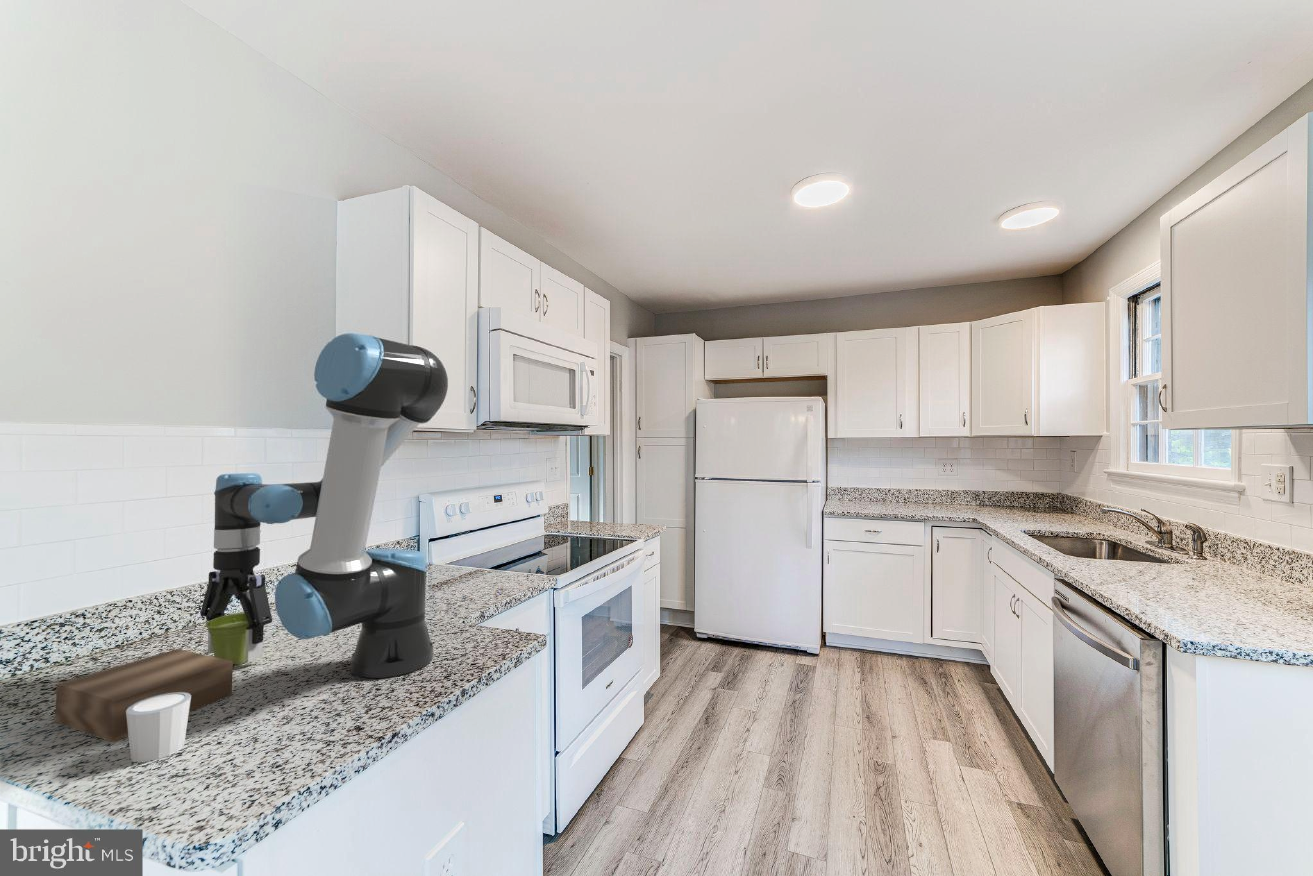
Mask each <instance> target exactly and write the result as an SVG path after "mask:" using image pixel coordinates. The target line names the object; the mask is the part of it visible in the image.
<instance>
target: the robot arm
mask: <svg viewBox="0 0 1313 876" xmlns="http://www.w3.org/2000/svg"><path fill="white" fill-rule="evenodd" d="M313 374H314V375H313V376H314V381H315V382H316V384H315V387H316V390H317V392H318V393H319V394H320V396H321V397H323V398H325V399H326V402H325V407H324V408H325V409H326V410H327V411H328V412H329V414H330V415H331V416H332V418H333V422H332V426H331V432H330V437H329V442H328V448H327V454H326V459H325V466H324V471H323V474H322V475H323V477H322V479H321V480H320V481H314V482H313V481H311V482H296V483H295V482H293V483H277V484H275V483H274V484H268V483H267V484H265V483H263V481H262V476H261V475H260V474H259V473H254V472H253V473H252V472H250V473H249V472H247V473H224V474H220V475H218V476H217V478H216V481H215V489H214V491H213V492H214V493H213V496H214V528H213V549H215V551H214V552H213V562H212V563H213V564H212V565H213V570H214V571H210V572H208V583H207V587H206V591H205V593H204V594H205V595H204V598H203V601H202V607H201V609H200V616H201V617H205V620H206V621H207V622H208V621H210V620H213V619H215V618H219V617H222V616H226V615H227V614H226V613H225V611H226V609H227V608H228V605H229V603H230V601H231V599H232V597H233V595H234V597H235V599H236V600H238V601H239V603H240V606H241V609H242V611H243V613H245V616H246V618H247V621H248V624H249V626H248V627H247V628H246V662H245V663H249V662H252V661H255V660H257V659H261V658H263V642H264V627H265V626H266V625H268V624H271V623H273V616H272V611H271V607H270V603H269V599H268V592H267V588H266V575H265V574H259V575H255V572H254V568H255V567H257V566H258V565H260V564H261V563H260V562H261V560H260V559H261V558H260V557H261V548H260V547H259V545H260V544H261V533H262V532H261V525H262V524H261V523H263V524H267V525H274V524H285V523H289V522H291V521H292V520H303V519H309V518H314V519H315V520H314V526H313V530H312V531H313V532H312V534H311V535H312V536H311V542H310V546H309V548H308V549H306V550H305V551H304V552H302V553H301V554H299V556H298V557H297V560H296V561H297V562H296V567H295V572H293V573H288V574H286V575H284V576H283V577H282V578H281V579H280V580H278V582H277V584H276V585H275V591H274V603H275V609H276V613H277V615H278V618H279V620H280V623H281V624H282V626H283V627H284V628H285V630H286V631H287V632H288V633H289V634H290V635H291V636H293V637H295V638H297V639H300V640H309V639H310V640H311V639H314V638H317V637H321V636H322V637H325V636H328V635H330V634H332V633H335V632H338V631H340V630H344V629H347V628H351V627H353V626H356V625H361V629H360V633H359V635H358V640H357V643H356V644H355V645H356V646H355V650H354V651H353V653H352V656H350V657H351V658H350V672H351V674H352V675H354V676H357V677H360V678H366V679H381V678H382V679H383V678H390V677H396V676H401V675H405V674H408V673H409V674H410V673H412V672H414V671H418V670H420V669H422V668H424V667H426V666H427V665H429V664H430V663H431V662H432V661H433V659H434V644H433V642H432V641H431V637H430V634H429V630H428V627H427V624H426V617H425V615H426V587H427V586H426V585H427V584H426V581H427V577H426V576H427V569H426V557H425V554H424V553H423V552H421V551H420V550H419V551H418V550H415V549H404V548H403V549H401V548H374V549H372V548H371V549H366V546H367V543H368V542H367V541H368V535H369V530H370V526H371V519H372V515H373V509H374V503H375V499H376V495H377V488H378V483H379V478H380V473H381V468H382V467H383V466H384V465H385V464H386V462H387V461H388V460H389V459H390V458H391V457H392V456H393V454H394V453H396V451H397V450H398V449H399V448H400V446H401V445H403V444H404V442H405V440H407V439H408V437H410V436H411V434H412V433H413V432H414V431H415V430H416V428H417V427H418V426H419V425H423V424H427V423H428V422H429V421H431V419H432V418H433V417H434V416H435V415H436V414H437V412H439V410H440V408H441V407H442V405H443V404H444V402H445V399H446V397H447V393H448V388H449V378H448V373H447V371H446V368H445V366H444V363H443V362H442V361H441V360H440V358H439V357H438V356H436V355H435V354H434V353H433V352H432V351H430V350H428V349H426V348H423V347H421V346H419V345H418V346H417V345H411V344H406V343H401V342H398V341H394V340H389V339H385V338H381V337H376V336H373V335H367V334H359V333H352V332H349V333H343V334H339V335H337V336H336V337H334V338H332V340H330V341H329V342H328V343H326V345H325V346H324V347H323V348H322V350H321V352H320V353H319V355H318V358H317V359H316V362H315V367H314V372H313ZM207 633H208V634H207V654H209V655H210V654H214V651H213V645H212V639H211V634H210V633H209V630H208V629H207Z"/></svg>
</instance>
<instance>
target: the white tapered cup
mask: <svg viewBox="0 0 1313 876" xmlns="http://www.w3.org/2000/svg"><path fill="white" fill-rule="evenodd" d="M190 700H191V695H190V694H189V693H185V692H175V693H167V694H162V695H157V696H154V697H150V698H147V699H144V700H142V701H139V702H137V703H135V704H133V705H132V706H130V707H129V708H128V709H127V710H126V716H127V726H128V736H127V737H128V743H129V755H130V760H131V759H132V760H133V761H137V762H136V763H143V762H142V761H149V762H151V761H150V760H153V761H157V760H160V759H159V758H161V759H163V758H166V757H169V756H171V755H173V754H175V753H177V752H178V751H180V750H181V749H182V748H184V745H185V742H186V736H187V729H188V728H187V727H188V720H189V715H190V712H189V708H190ZM156 759H157V760H156ZM132 760H131V761H132ZM133 761H132V762H133Z"/></svg>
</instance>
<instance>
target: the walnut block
mask: <svg viewBox="0 0 1313 876" xmlns="http://www.w3.org/2000/svg"><path fill="white" fill-rule="evenodd" d="M233 666H234V664H233V661H230V660H225V659H220V658H216V657H214V656H212V655H211V656H210V655H206V654H201V653H197V652H192V651H189V650H183V649H178V648H176V649H173V650H169V651H165V652H162V653H158V654H155V655H152V656H148V657H145V658H142V659H137V660H134V661H131V662H128V663H127V662H126V663H124V664H121V665H117V666H114V667H111V668H107V669H104V670H103V669H102V670H100V671H97V672H93V673H91V674H90V673H89V674H87V675H83V676H79V677H77V678H74V679H73V678H72V679H70V680H66V681H63V682H59V683H56V686H55V689H56V690H55V717H54V723H57V724H60V725H62V726H64V727H65V726H66V727H68V728H71V729H74V730H77V731H79V732H82V733H86V734H88V735H92V736H95V737H97V736H98V737H97V738H101V739H103V738H105V739H104V740H106V739H107V741H109V740H110V741H109V742H112V743H115V742H117V741H119V739H120V740H121V738H122V739H124V738H127V737H129V736H128V726H127V716H126V710H127V709H128V708H129V707H130V706H132V705H133V704H135V703H137V702H139V701H142V700H144V699H147V698H150V697H154V696H157V695H162V694H167V693H175V692H185V693H189V694H190V695H191V700H190V708H189V713H191V712H193V711H195V710H199V709H200V708H204V707H206V706H208V704H209V705H210V704H213V703H216V702H219V701H221V700H223V699H226V698H225V697H227V698H228V697H229V698H230V697H231V695H232V696H233V672H234V671H233V669H234V667H233ZM220 699H221V700H220ZM218 700H219V701H218ZM114 741H115V742H114Z"/></svg>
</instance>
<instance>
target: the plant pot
mask: <svg viewBox="0 0 1313 876" xmlns="http://www.w3.org/2000/svg"><path fill="white" fill-rule="evenodd" d="M225 615H226V616H222V617H219V618H215V619H213V620H210V621H207V622H206V623H205V624H204V625H205V628H207V631H208V630H209V633H210V634H211V639H212V645H213V651H214V653H213V657H216V658H220V659H225V660H230V661H233V665H235V666H236V665H237V666H238V665H242V663H243V664H245V663H247V662H246V628H247V627H248V626H249V624H248V621H247V618H246V616H245V613H244V612H239V613H232V614H228V615H227V614H225Z"/></svg>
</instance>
